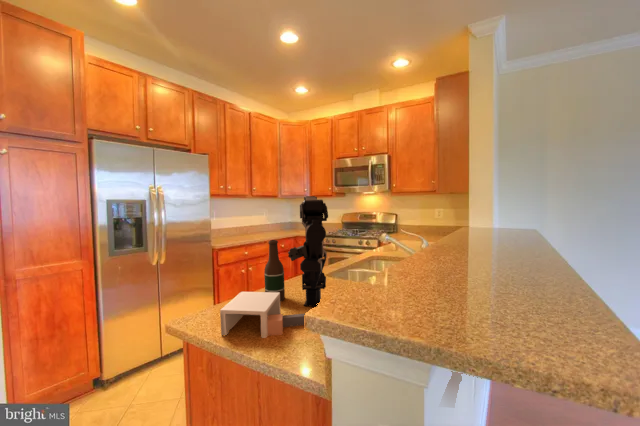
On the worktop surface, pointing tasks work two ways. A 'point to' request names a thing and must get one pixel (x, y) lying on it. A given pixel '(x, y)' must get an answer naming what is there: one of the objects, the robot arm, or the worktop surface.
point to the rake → (293, 320)
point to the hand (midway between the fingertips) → (315, 284)
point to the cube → (275, 324)
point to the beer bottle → (274, 271)
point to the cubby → (250, 309)
